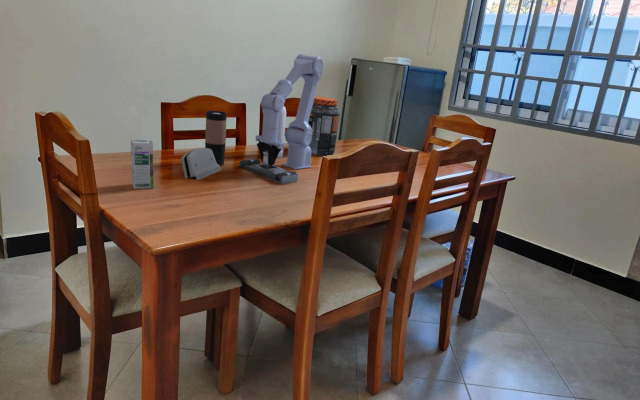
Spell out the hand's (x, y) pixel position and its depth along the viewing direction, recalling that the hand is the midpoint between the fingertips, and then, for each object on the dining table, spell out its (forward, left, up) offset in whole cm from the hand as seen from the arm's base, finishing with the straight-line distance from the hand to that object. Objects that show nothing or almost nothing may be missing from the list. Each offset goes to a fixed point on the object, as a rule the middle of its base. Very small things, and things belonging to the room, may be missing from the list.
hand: (267, 163), depth 164 cm
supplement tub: (-47, -20, -4) cm, 51 cm away
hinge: (+22, -10, -4) cm, 25 cm away
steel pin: (0, 0, -2) cm, 3 cm away
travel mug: (+11, -19, -4) cm, 22 cm away
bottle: (-21, -22, -4) cm, 31 cm away
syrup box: (+46, -4, -4) cm, 46 cm away
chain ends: (0, 0, -4) cm, 4 cm away
